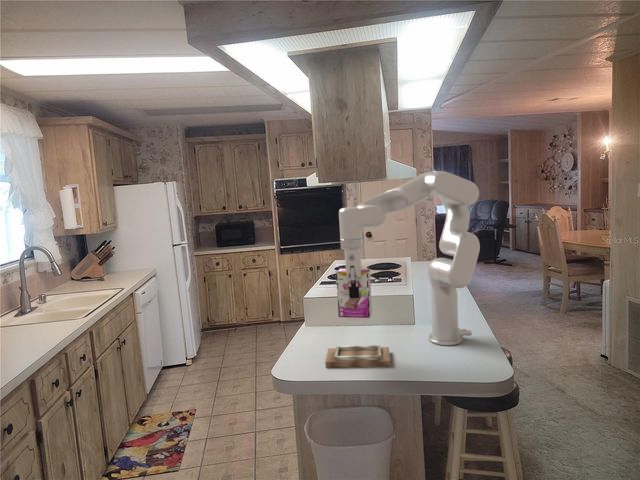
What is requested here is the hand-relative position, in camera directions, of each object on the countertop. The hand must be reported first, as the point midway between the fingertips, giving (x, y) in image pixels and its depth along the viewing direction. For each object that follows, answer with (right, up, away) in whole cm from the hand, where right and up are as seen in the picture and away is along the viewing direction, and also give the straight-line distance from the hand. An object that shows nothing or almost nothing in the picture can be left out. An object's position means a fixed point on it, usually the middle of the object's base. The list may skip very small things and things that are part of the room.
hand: (354, 295), depth 149 cm
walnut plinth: (+2, -23, +3) cm, 23 cm away
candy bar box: (0, -8, +1) cm, 8 cm away
